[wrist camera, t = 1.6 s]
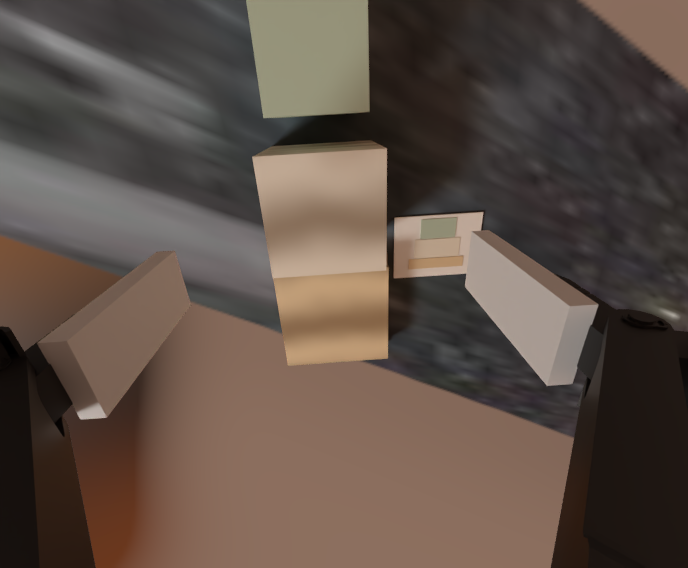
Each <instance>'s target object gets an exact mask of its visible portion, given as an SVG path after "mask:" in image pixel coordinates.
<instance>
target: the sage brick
mask: <svg viewBox="0 0 688 568" xmlns="http://www.w3.org/2000/svg"><path fill="white" fill-rule="evenodd" d="M246 2H247V9H248V16H249V23H250V29H251V36H252V43H253V50H254V57H255V63H256V70H257V77H258V84H259V91H260V97H261V104H262V111H263V118H285V117H301V116H318V115H335V114H351V113H363V112H370V101H369V40H368V0H246Z"/></svg>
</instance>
